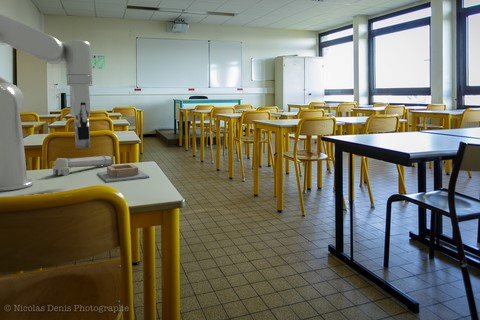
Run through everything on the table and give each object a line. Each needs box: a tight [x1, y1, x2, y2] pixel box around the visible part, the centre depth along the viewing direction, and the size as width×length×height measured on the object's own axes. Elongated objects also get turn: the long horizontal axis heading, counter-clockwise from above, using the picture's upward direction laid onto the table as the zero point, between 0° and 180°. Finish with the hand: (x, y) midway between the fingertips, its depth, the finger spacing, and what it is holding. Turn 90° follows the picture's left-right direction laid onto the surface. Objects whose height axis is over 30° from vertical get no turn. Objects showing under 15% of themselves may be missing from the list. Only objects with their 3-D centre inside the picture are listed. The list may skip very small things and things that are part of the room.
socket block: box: [96, 163, 150, 183], centre depth 138 cm, size 14×16×3 cm
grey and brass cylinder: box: [74, 118, 91, 149], centre depth 128 cm, size 4×4×9 cm
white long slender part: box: [51, 155, 114, 176], centre depth 148 cm, size 5×7×25 cm
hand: (82, 138), depth 128 cm, fingers closed on grey and brass cylinder, 4 cm apart
